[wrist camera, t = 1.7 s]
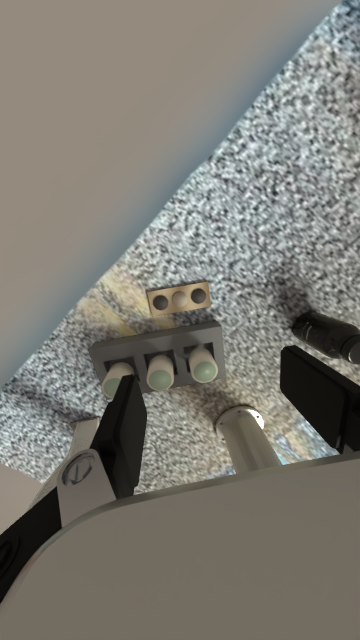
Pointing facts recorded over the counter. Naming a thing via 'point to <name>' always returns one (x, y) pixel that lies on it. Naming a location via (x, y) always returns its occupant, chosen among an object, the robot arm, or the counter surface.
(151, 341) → the grey flat block
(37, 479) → the counter surface
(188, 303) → the pattern card
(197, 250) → the counter surface
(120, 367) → the button
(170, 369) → the button
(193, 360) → the button
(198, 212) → the counter surface
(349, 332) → the supplement bottle
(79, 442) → the skyscraper
